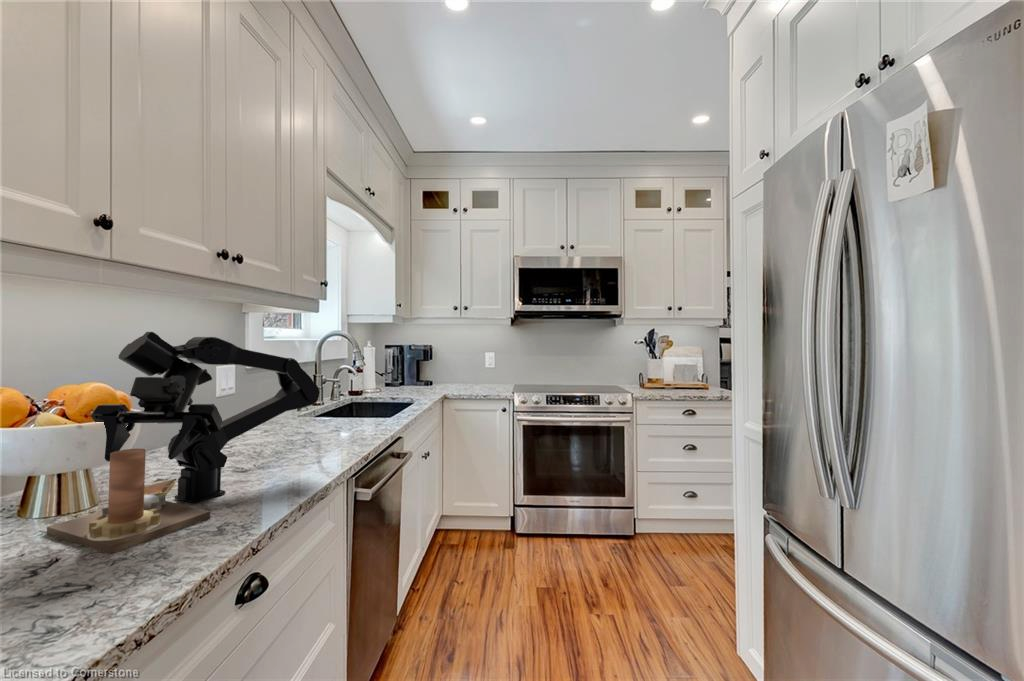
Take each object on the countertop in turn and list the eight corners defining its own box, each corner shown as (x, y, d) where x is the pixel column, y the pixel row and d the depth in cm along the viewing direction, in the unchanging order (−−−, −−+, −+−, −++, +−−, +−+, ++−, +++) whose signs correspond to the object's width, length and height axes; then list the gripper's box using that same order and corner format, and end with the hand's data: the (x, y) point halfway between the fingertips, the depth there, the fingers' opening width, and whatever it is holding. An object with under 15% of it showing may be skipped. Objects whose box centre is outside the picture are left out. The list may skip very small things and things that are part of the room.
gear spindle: (139, 513, 76) (142, 443, 77) (172, 521, 73) (174, 448, 73) (75, 533, 68) (78, 454, 68) (108, 543, 65) (111, 461, 65)
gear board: (150, 503, 85) (150, 485, 85) (210, 517, 79) (210, 498, 79) (46, 533, 71) (47, 512, 71) (110, 554, 65) (110, 530, 65)
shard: (176, 484, 98) (176, 476, 98) (198, 489, 95) (198, 481, 95) (118, 500, 88) (118, 491, 88) (140, 506, 85) (141, 496, 85)
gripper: (100, 359, 76) (46, 433, 65) (217, 361, 81) (185, 431, 70) (127, 398, 84) (82, 470, 73) (233, 398, 88) (206, 466, 77)
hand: (139, 459), depth 73 cm, fingers open, 9 cm apart
